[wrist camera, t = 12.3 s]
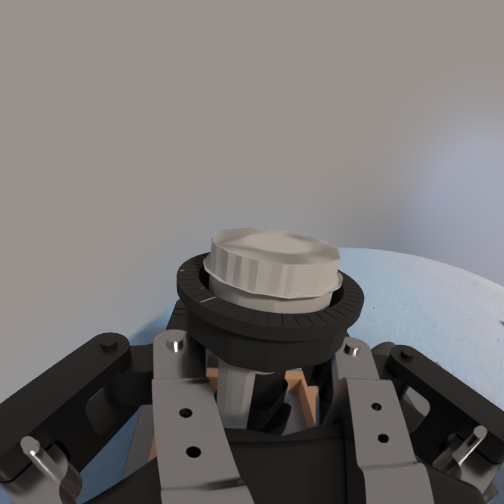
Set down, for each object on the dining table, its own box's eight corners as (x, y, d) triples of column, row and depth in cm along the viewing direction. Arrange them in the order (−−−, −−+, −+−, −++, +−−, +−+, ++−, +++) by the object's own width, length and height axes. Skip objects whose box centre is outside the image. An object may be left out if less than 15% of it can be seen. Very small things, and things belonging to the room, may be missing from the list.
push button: (241, 384, 15) (261, 214, 12) (323, 418, 12) (382, 241, 10) (163, 452, 9) (135, 238, 6) (265, 512, 7) (354, 309, 4)
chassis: (402, 368, 22) (417, 335, 21) (486, 499, 5) (524, 468, 4) (163, 371, 20) (159, 332, 19) (121, 572, 3) (91, 566, 2)
